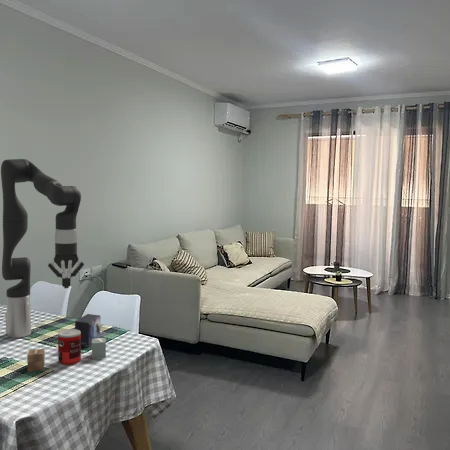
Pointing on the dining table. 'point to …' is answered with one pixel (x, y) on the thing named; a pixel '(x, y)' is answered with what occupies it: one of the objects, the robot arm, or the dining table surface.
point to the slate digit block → (99, 348)
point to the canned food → (69, 346)
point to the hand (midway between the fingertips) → (66, 287)
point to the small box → (88, 328)
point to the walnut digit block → (36, 360)
